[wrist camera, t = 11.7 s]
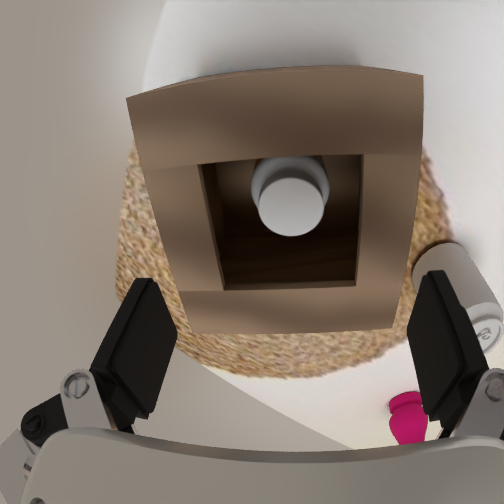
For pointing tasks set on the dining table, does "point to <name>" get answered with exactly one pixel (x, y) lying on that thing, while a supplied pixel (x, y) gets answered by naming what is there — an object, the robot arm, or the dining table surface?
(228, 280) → the drop box
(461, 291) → the can
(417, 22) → the dining table surface
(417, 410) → the pepper mill
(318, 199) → the supplement bottle
